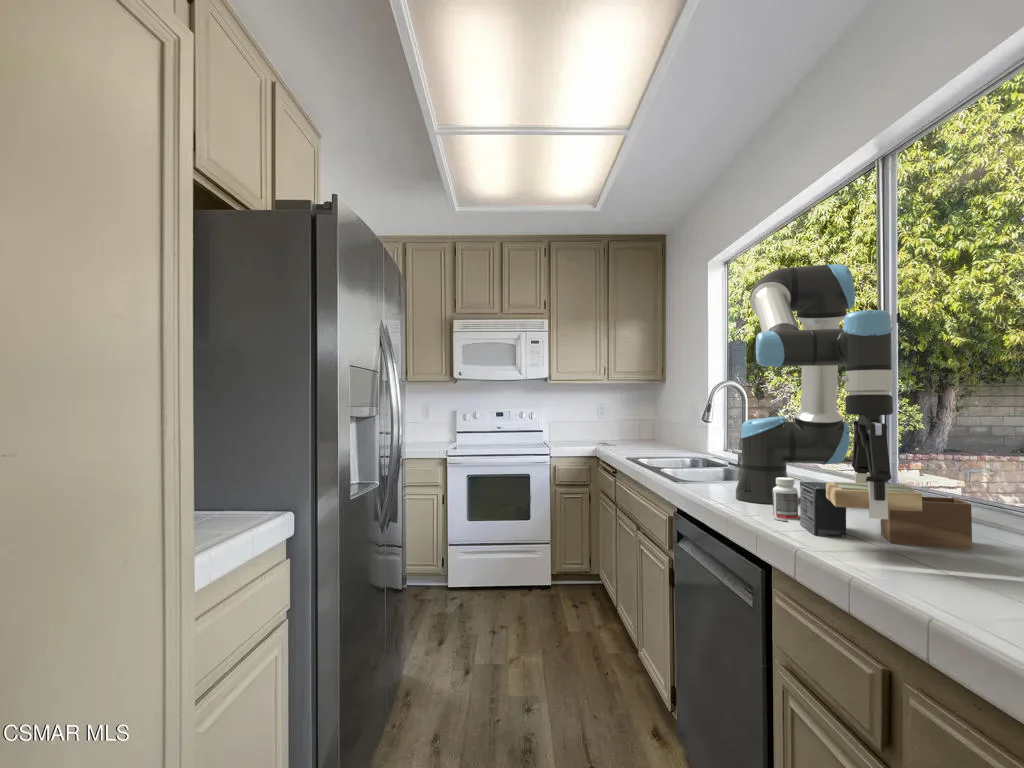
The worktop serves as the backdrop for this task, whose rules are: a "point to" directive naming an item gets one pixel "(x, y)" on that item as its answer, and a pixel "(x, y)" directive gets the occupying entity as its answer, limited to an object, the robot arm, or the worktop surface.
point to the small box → (820, 511)
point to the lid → (859, 496)
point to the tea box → (931, 524)
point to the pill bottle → (785, 499)
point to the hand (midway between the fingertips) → (870, 512)
